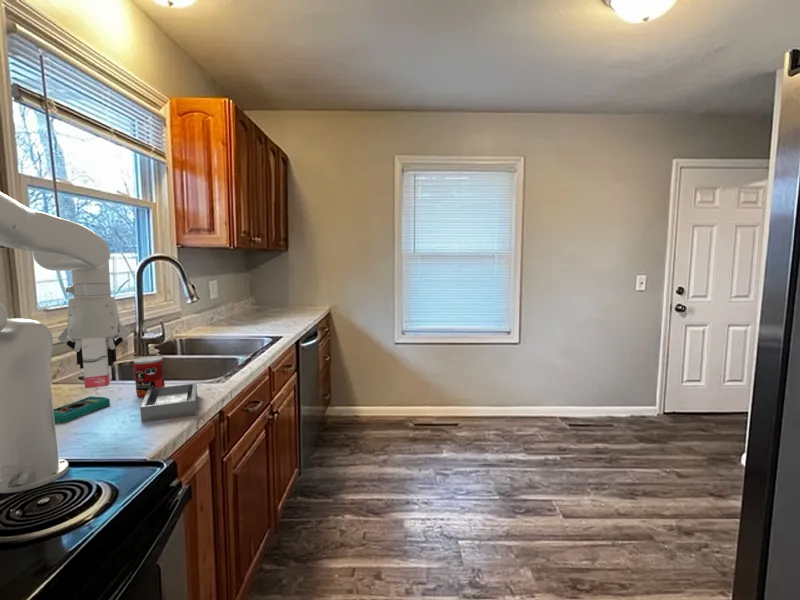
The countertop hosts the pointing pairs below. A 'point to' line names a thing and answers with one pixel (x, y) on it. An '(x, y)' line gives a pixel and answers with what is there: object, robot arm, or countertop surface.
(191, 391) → the grey rimmed tray
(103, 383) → the ink box
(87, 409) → the digital multimeter
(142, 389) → the canned food
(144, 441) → the countertop surface
